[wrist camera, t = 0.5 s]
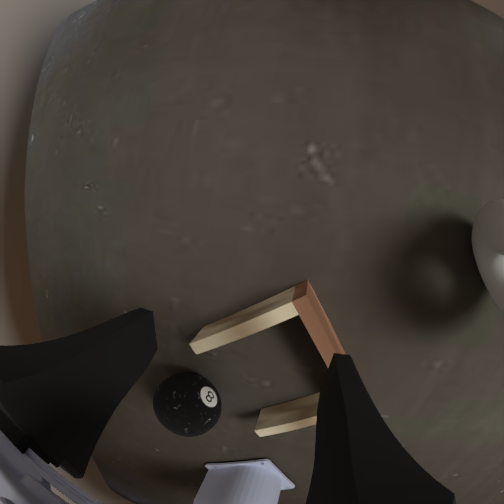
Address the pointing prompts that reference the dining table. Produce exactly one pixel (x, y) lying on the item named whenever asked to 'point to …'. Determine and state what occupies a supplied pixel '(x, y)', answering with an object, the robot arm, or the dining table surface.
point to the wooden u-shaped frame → (265, 316)
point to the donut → (490, 248)
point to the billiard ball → (187, 404)
